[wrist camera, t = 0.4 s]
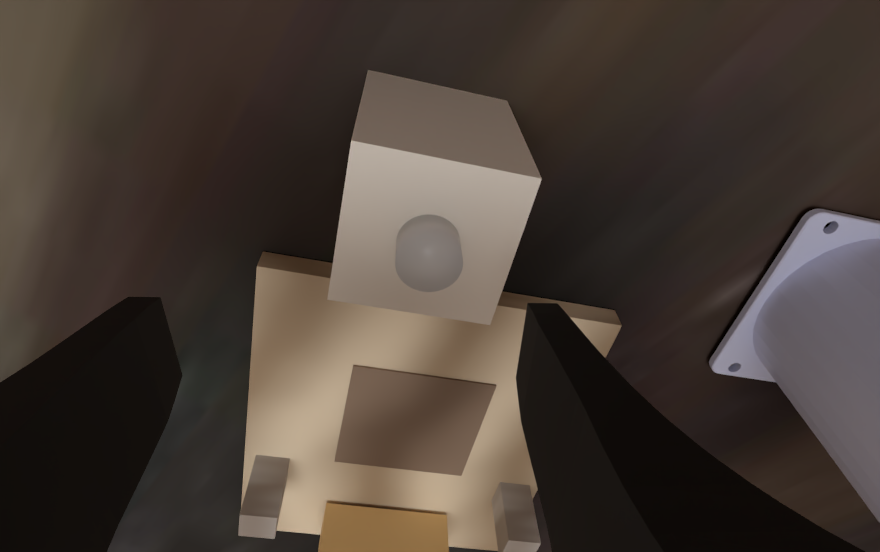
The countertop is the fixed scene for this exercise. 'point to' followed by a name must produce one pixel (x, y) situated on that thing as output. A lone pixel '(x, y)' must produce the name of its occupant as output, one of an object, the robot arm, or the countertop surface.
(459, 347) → the press bed
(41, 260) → the countertop surface
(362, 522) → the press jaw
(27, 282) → the countertop surface
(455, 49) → the countertop surface
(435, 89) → the block
